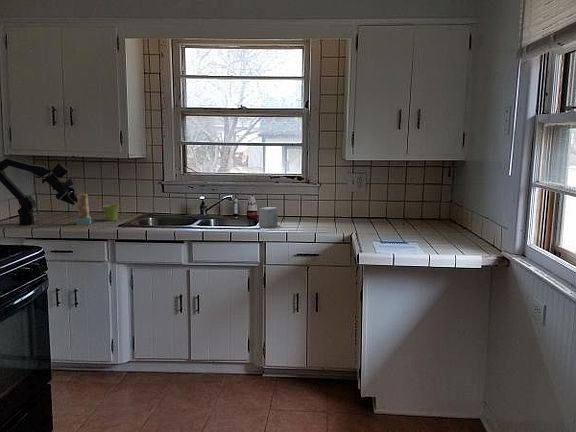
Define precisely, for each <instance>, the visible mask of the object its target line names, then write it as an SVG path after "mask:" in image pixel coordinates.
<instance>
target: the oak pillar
mask: <svg viewBox="0 0 576 432" xmlns="http://www.w3.org/2000/svg"><path fill="white" fill-rule="evenodd" d="M76 197H77V199H78V203H77V207H78V208H77V209H78V217H79V218H88V217H89V216H90V205H89V195H88V193H81V194H77V195H76Z"/></svg>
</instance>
